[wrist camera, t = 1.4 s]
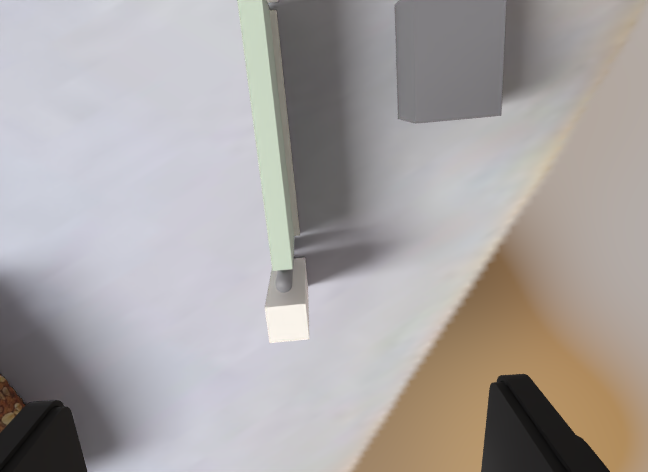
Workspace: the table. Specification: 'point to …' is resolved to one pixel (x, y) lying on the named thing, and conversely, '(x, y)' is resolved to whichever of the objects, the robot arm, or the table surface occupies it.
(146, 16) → the table surface
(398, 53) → the block
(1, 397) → the bread
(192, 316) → the table surface
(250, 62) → the door
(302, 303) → the door frame
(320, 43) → the table surface
